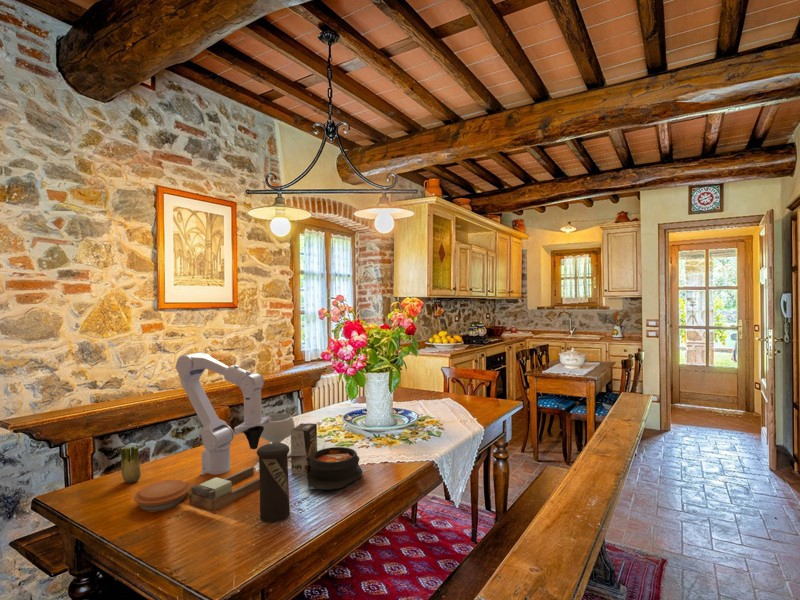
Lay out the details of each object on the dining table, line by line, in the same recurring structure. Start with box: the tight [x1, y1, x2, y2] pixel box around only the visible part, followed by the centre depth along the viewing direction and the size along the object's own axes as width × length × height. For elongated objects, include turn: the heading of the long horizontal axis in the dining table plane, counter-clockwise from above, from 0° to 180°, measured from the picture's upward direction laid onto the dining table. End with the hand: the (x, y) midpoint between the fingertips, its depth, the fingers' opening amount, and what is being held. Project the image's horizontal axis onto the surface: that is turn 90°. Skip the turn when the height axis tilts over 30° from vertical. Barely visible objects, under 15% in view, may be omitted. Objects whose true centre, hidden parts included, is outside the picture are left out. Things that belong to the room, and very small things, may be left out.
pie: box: [133, 479, 192, 512], centre depth 136 cm, size 15×16×5 cm
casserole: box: [306, 446, 363, 491], centre depth 150 cm, size 25×19×8 cm
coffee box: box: [290, 422, 318, 476], centre depth 157 cm, size 9×6×16 cm
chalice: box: [260, 412, 296, 458], centre depth 174 cm, size 14×14×15 cm
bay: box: [188, 466, 260, 515], centre depth 140 cm, size 11×25×6 cm, turn 151°
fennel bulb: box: [120, 445, 142, 484], centre depth 152 cm, size 6×5×12 cm
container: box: [256, 442, 291, 524], centre depth 126 cm, size 9×9×20 cm
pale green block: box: [198, 476, 233, 498], centre depth 134 cm, size 7×6×5 cm
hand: (253, 448), depth 153 cm, fingers closed
